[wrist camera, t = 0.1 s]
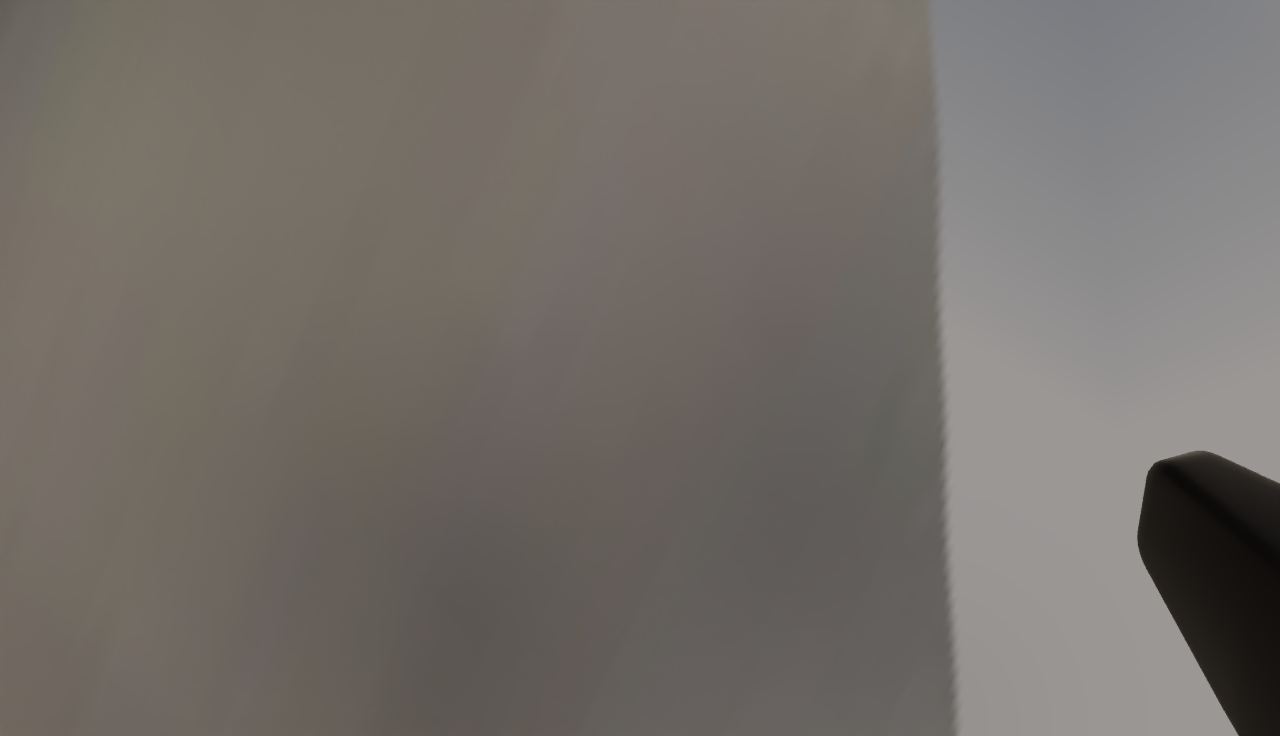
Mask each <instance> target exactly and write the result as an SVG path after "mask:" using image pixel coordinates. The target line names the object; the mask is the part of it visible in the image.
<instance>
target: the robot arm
mask: <svg viewBox="0 0 1280 736" xmlns="http://www.w3.org/2000/svg"><path fill="white" fill-rule="evenodd" d="M1137 537H1138V538H1137V539H1138V547H1139V551H1140V555H1141V558H1142V560H1143V563H1144V565H1145V567H1146V569H1147V570H1148V573H1149V574H1150V576H1151V578H1152V580H1153V582H1154V583H1155V585H1156V587H1157V589H1158V591H1159V593H1160V594H1161V596H1162V598H1163V600H1164V602H1165V603H1166V605H1167V607H1168V609H1169V611H1170V613H1171V614H1172V616H1173V618H1174V620H1175V622H1176V623H1177V625H1178V627H1179V629H1180V631H1181V633H1182V635H1183V637H1184V638H1185V640H1186V642H1187V644H1188V646H1189V647H1190V649H1191V651H1192V653H1193V655H1194V657H1195V658H1196V660H1197V662H1198V664H1199V666H1200V668H1201V669H1202V671H1203V673H1204V675H1205V677H1206V679H1207V680H1208V682H1209V684H1210V686H1211V688H1212V690H1213V691H1214V693H1215V695H1216V697H1217V699H1218V701H1219V702H1220V704H1221V706H1222V708H1223V710H1224V711H1225V713H1226V715H1227V716H1228V718H1229V720H1230V722H1231V723H1232V725H1233V727H1234V728H1235V730H1236V732H1237V734H1238V735H1239V736H1280V483H1278V482H1275V481H1273V480H1271V479H1269V478H1266V477H1264V476H1262V475H1260V474H1258V473H1256V472H1254V471H1251V470H1249V469H1247V468H1245V467H1242V466H1240V465H1238V464H1236V463H1234V462H1232V461H1230V460H1227V459H1225V458H1223V457H1221V456H1219V455H1216V454H1214V453H1210V452H1206V451H1194V452H1190V453H1186V454H1182V455H1179V456H1175V457H1171V458H1168V459H1164V460H1161V461H1158V462H1156V463H1154V465H1153V466H1152V467H1151V469H1150V470H1149V471H1148V475H1147V478H1146V484H1145V491H1144V496H1143V503H1142V509H1141V515H1140V521H1139V527H1138V536H1137Z"/></svg>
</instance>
